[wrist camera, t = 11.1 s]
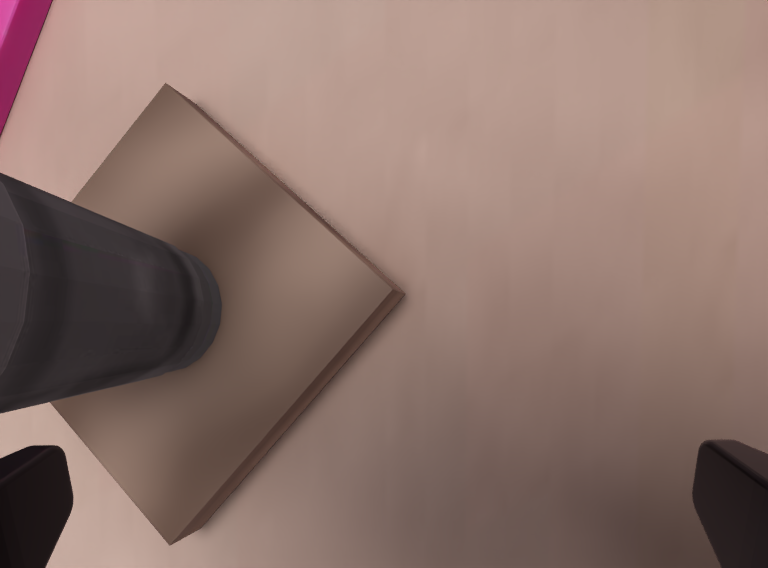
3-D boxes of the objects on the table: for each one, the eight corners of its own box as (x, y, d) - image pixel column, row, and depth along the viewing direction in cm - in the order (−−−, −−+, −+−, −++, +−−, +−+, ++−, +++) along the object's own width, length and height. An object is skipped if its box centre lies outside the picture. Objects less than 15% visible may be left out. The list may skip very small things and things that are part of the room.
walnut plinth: (405, 293, 22) (393, 289, 20) (199, 528, 23) (169, 545, 21) (194, 102, 25) (165, 82, 23) (20, 319, 26) (-21, 318, 24)
